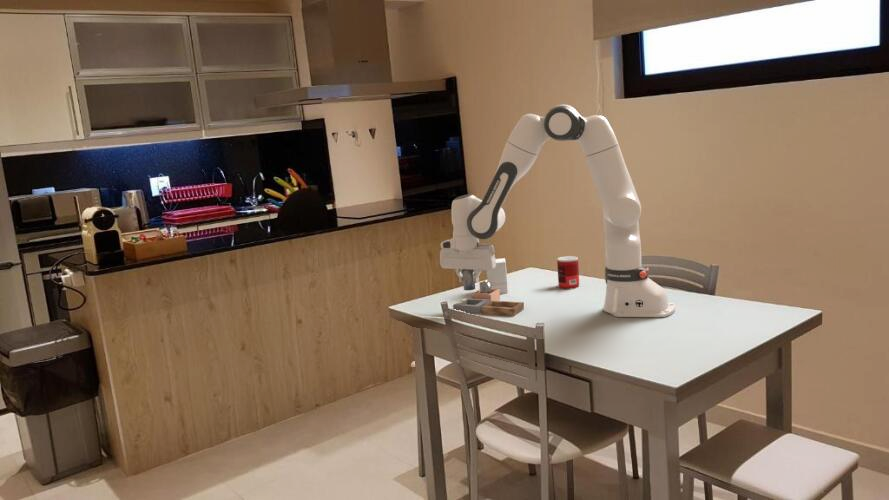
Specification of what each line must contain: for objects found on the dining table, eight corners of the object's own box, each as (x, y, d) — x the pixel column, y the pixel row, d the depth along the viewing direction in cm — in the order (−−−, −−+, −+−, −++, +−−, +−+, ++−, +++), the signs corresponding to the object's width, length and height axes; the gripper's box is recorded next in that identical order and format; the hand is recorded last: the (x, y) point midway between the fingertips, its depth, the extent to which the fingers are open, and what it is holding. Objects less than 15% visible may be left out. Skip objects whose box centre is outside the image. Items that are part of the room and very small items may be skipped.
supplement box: (508, 290, 262) (505, 257, 259) (508, 295, 254) (505, 261, 252) (488, 291, 262) (486, 259, 260) (488, 296, 255) (485, 263, 253)
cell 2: (494, 300, 246) (492, 279, 245) (488, 303, 243) (487, 282, 241) (484, 299, 248) (482, 279, 247) (479, 302, 245) (477, 282, 243)
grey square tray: (490, 307, 239) (490, 298, 239) (479, 315, 232) (478, 306, 231) (465, 306, 244) (464, 297, 244) (453, 313, 237) (452, 304, 236)
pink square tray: (500, 301, 247) (499, 289, 246) (491, 306, 241) (490, 294, 240) (482, 300, 250) (481, 288, 249) (473, 305, 244) (472, 293, 243)
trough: (524, 310, 232) (523, 302, 231) (514, 317, 225) (514, 308, 225) (492, 308, 238) (491, 300, 237) (482, 315, 231) (481, 306, 231)
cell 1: (477, 287, 237) (475, 266, 236) (472, 290, 234) (470, 269, 232) (467, 287, 239) (465, 266, 238) (461, 290, 236) (460, 268, 234)
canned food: (582, 284, 260) (581, 256, 258) (574, 289, 253) (573, 260, 251) (563, 283, 264) (562, 255, 262) (555, 288, 258) (553, 260, 255)
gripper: (497, 241, 231) (500, 281, 234) (445, 240, 241) (447, 278, 244) (489, 244, 226) (492, 285, 228) (436, 243, 236) (439, 282, 238)
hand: (468, 281), depth 236 cm, fingers closed on cell 1, 4 cm apart
